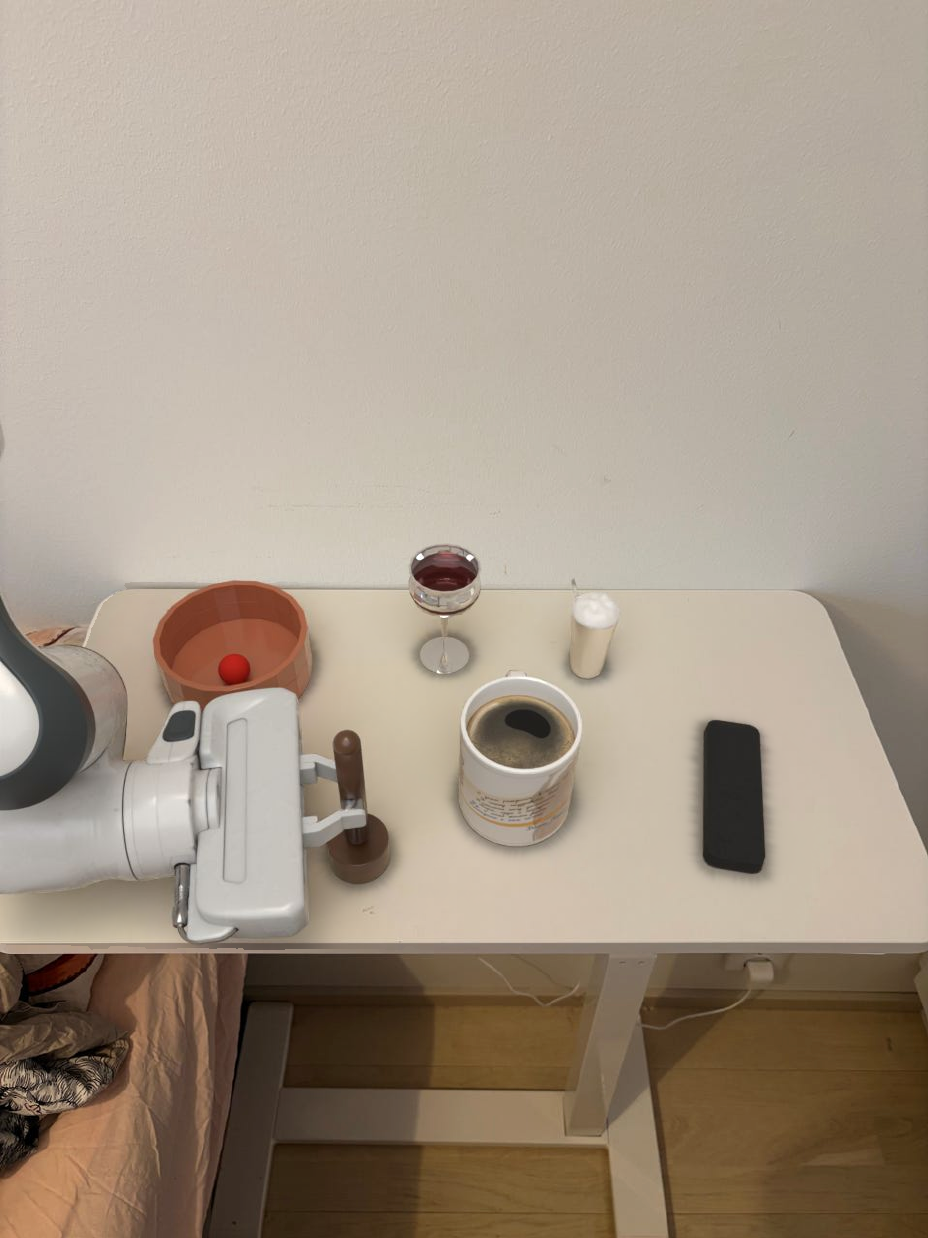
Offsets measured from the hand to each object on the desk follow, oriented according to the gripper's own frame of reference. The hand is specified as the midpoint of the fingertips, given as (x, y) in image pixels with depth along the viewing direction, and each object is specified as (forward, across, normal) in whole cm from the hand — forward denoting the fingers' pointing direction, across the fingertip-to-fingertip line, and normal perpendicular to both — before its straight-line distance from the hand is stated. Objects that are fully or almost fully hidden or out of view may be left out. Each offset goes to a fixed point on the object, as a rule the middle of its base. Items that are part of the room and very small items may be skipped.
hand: (363, 793), depth 71 cm
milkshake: (+23, +18, +10) cm, 31 cm away
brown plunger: (-1, 0, +10) cm, 10 cm away
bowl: (-11, +22, +10) cm, 27 cm away
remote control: (+32, +1, +10) cm, 34 cm away
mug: (+14, +5, +10) cm, 17 cm away
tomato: (-11, +20, +7) cm, 25 cm away
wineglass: (+9, +21, +10) cm, 25 cm away
